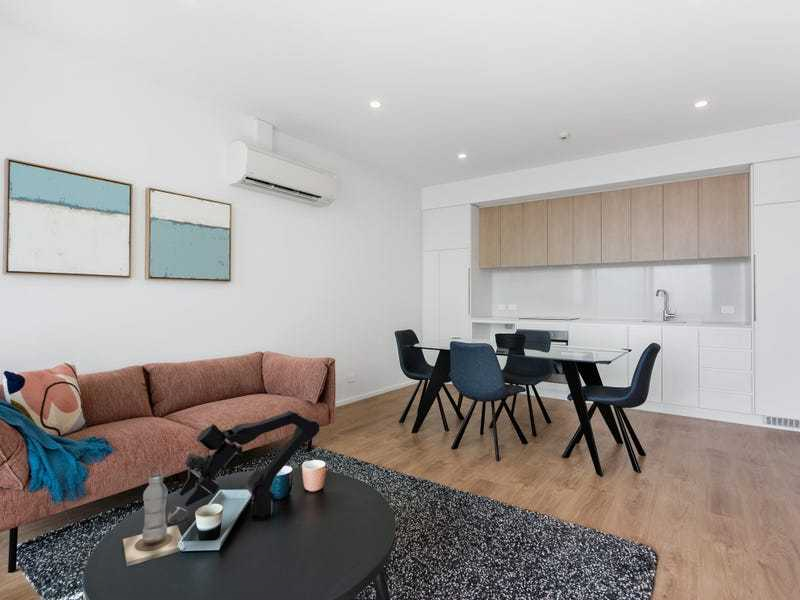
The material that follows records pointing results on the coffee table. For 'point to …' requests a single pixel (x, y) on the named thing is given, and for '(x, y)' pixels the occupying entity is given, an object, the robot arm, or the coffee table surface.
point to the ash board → (151, 547)
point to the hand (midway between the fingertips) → (182, 500)
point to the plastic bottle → (155, 510)
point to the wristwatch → (174, 511)
